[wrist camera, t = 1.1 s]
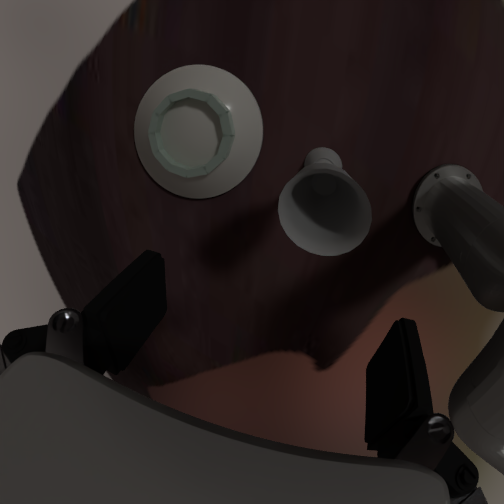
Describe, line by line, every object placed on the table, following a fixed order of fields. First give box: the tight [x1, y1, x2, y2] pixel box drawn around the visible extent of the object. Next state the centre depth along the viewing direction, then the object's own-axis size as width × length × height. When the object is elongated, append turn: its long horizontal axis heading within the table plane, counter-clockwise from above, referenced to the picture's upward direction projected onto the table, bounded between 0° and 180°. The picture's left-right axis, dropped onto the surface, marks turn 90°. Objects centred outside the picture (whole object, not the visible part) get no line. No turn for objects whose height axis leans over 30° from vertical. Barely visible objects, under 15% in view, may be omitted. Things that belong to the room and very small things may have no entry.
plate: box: [134, 65, 263, 199], centre depth 36 cm, size 20×20×2 cm
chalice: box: [278, 147, 372, 256], centre depth 28 cm, size 7×7×18 cm
